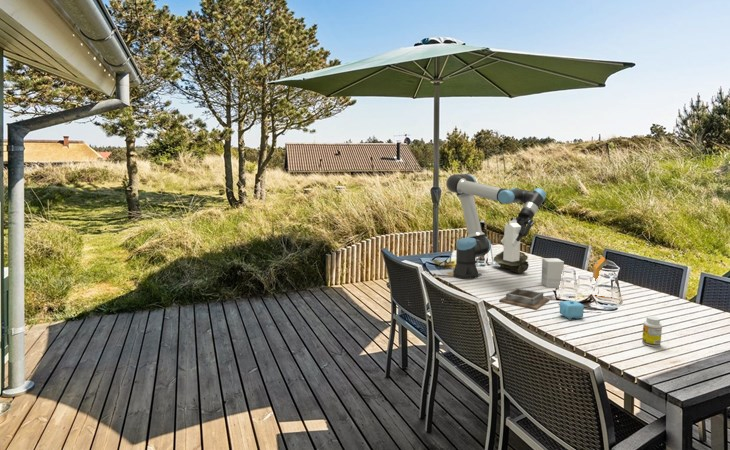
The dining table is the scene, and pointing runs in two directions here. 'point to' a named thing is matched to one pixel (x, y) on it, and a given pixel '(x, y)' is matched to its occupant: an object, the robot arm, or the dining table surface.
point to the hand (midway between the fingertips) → (507, 243)
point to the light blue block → (571, 309)
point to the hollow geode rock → (513, 263)
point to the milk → (509, 235)
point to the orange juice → (599, 267)
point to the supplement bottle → (652, 331)
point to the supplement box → (551, 271)
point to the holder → (525, 298)
